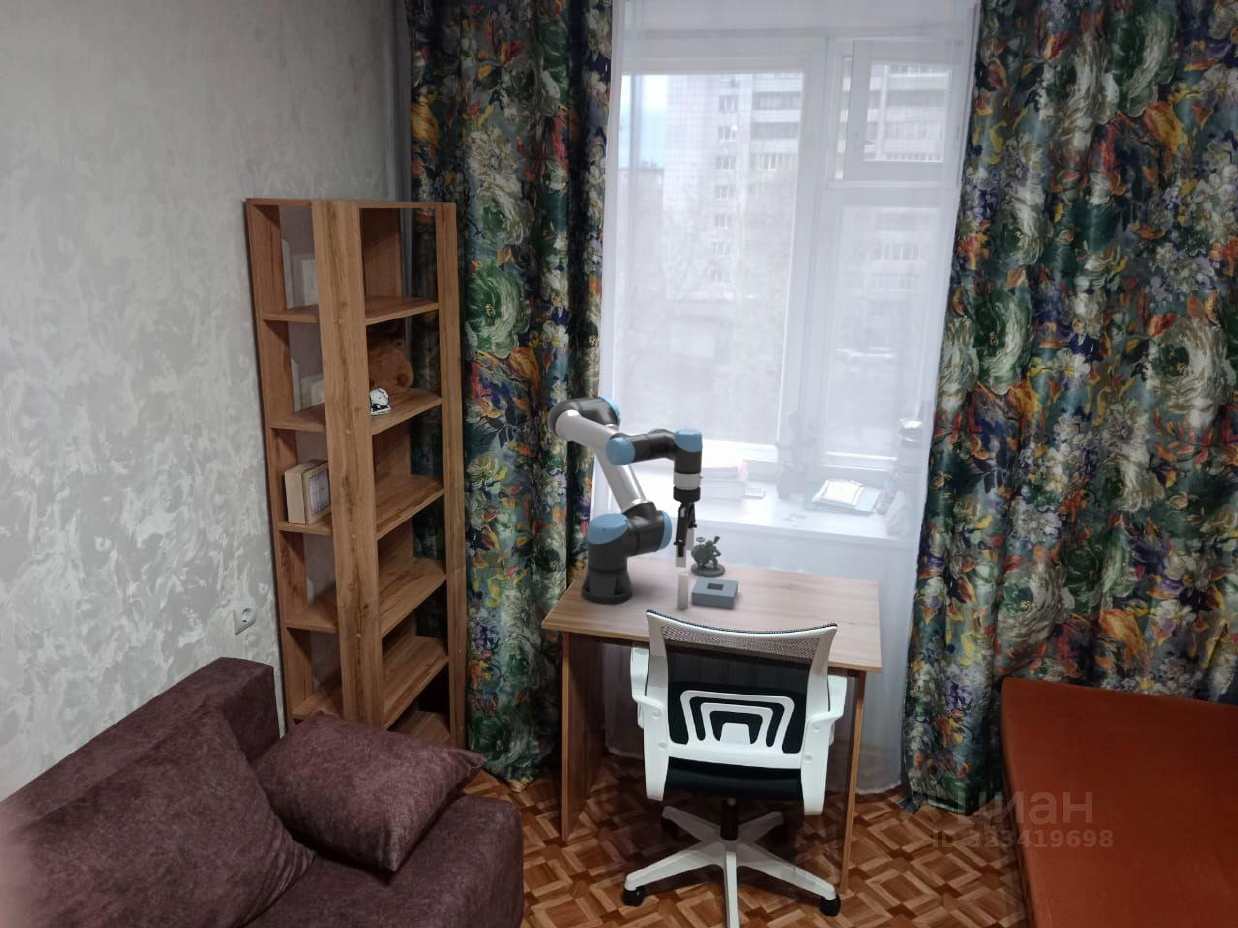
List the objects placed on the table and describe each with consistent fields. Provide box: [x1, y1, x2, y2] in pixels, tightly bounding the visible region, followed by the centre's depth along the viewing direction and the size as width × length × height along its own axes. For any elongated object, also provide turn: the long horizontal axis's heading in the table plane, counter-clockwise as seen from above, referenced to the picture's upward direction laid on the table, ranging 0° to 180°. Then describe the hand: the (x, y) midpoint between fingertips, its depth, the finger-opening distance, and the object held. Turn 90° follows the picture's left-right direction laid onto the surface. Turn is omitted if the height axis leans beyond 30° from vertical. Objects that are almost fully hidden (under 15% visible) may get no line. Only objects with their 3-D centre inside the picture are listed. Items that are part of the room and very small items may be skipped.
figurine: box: [690, 535, 726, 578], centre depth 288 cm, size 11×11×12 cm
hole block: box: [690, 576, 739, 609], centre depth 269 cm, size 12×12×4 cm
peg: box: [676, 572, 690, 610], centre depth 262 cm, size 3×3×10 cm
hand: (684, 558), depth 259 cm, fingers open, 13 cm apart
